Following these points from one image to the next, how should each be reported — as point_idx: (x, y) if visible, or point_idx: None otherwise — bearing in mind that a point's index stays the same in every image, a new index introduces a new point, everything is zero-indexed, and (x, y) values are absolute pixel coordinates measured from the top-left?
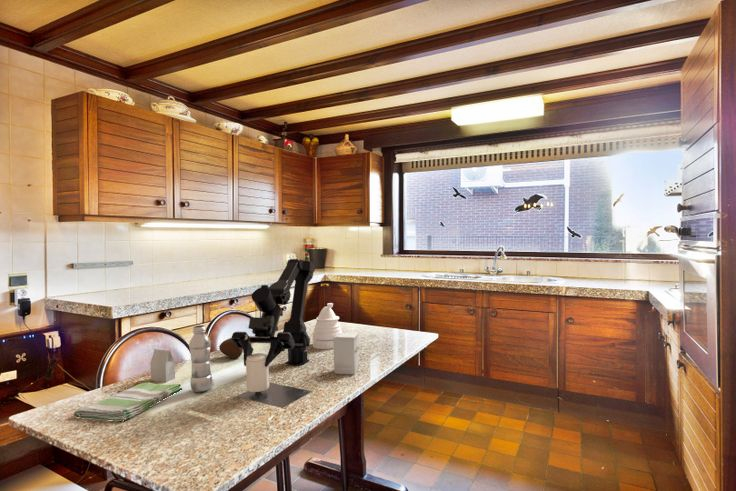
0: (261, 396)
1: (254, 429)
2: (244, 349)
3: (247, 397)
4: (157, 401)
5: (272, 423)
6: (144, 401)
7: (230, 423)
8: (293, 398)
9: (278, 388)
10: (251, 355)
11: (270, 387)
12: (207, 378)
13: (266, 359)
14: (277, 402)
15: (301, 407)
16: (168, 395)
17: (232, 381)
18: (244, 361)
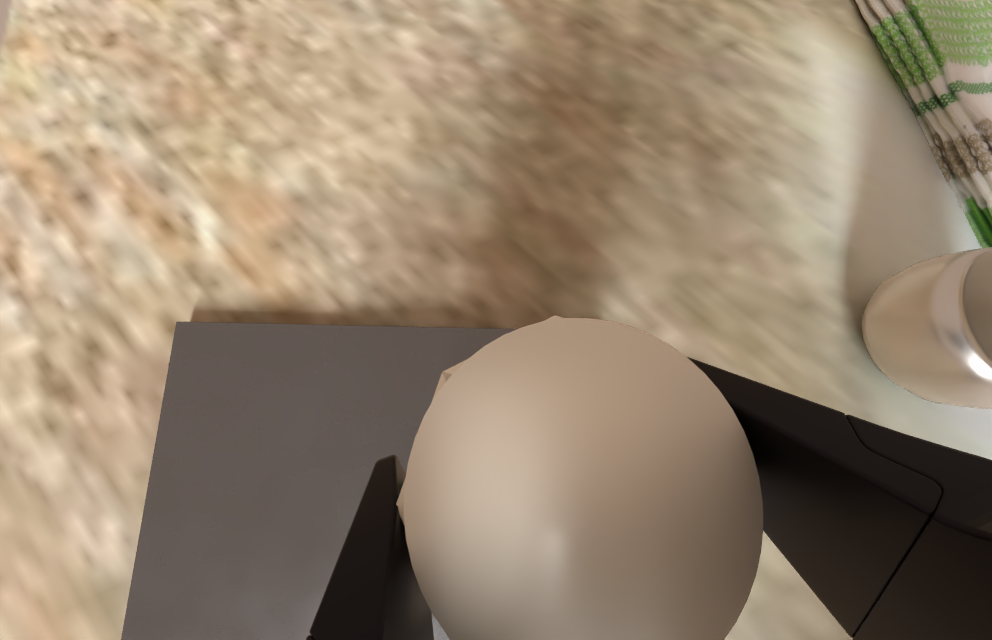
0: None
1: (206, 98)
2: (934, 460)
3: None
4: (926, 110)
5: (152, 178)
6: (938, 27)
7: (373, 100)
8: (191, 481)
9: None
10: (715, 489)
11: None
12: (940, 315)
13: (388, 516)
14: (265, 373)
15: (92, 420)
16: (968, 186)
17: None
18: (699, 366)
